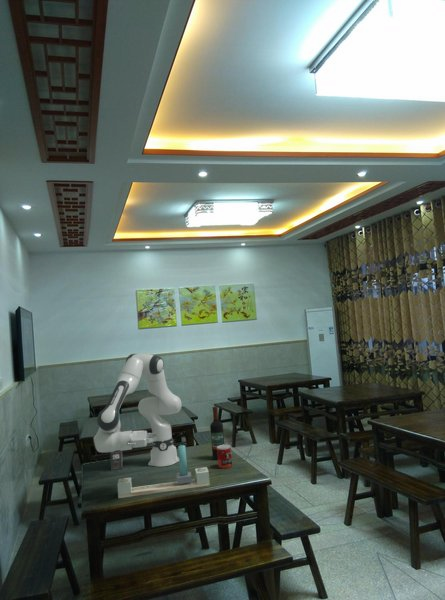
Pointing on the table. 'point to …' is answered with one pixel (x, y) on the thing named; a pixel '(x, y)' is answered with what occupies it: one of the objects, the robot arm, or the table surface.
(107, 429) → the robot arm
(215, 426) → the wine bottle
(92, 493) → the table surface
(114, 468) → the cake mix box
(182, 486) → the rail board
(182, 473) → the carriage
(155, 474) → the table surface
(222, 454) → the canned food
